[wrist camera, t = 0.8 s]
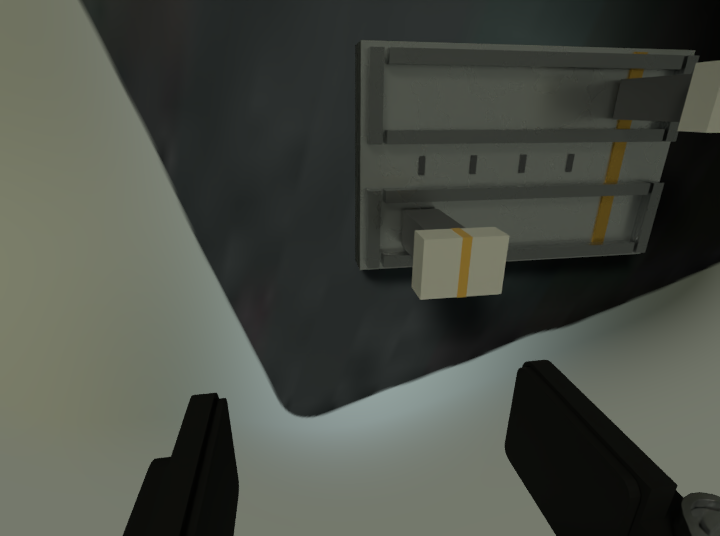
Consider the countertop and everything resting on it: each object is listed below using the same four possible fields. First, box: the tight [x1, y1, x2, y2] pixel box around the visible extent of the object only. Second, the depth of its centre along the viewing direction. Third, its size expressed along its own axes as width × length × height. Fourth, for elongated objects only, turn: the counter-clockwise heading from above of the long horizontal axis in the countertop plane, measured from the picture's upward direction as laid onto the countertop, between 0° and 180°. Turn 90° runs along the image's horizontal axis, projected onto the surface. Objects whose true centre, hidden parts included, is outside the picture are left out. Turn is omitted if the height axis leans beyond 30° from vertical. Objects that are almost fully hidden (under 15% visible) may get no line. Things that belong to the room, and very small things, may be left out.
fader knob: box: [401, 209, 510, 300], centre depth 24 cm, size 3×4×8 cm
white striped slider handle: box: [613, 60, 720, 133], centre depth 23 cm, size 3×4×8 cm
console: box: [355, 40, 699, 270], centre depth 28 cm, size 14×22×3 cm, turn 90°
